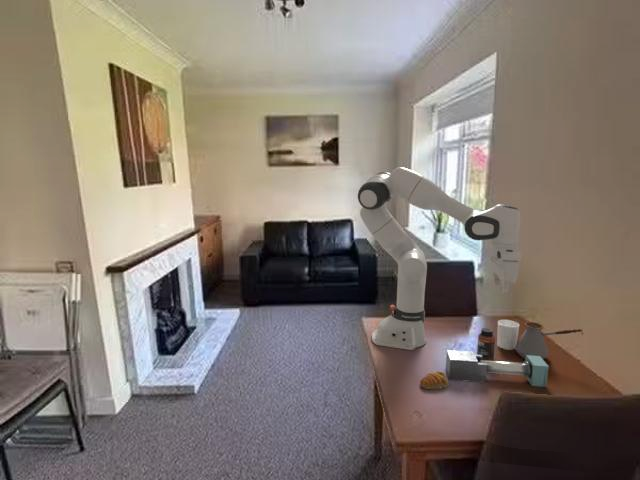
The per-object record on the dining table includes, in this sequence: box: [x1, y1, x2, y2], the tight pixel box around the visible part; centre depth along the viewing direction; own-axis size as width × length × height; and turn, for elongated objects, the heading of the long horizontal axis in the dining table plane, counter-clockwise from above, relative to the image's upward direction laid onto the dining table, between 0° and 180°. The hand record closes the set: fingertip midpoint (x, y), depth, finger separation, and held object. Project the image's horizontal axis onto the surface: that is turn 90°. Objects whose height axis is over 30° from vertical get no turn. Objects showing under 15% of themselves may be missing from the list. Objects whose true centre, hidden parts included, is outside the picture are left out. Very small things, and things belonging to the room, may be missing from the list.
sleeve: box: [445, 349, 488, 383], centre depth 138 cm, size 12×7×7 cm, turn 82°
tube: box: [479, 359, 532, 378], centre depth 136 cm, size 19×5×5 cm, turn 82°
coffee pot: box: [514, 321, 584, 360], centre depth 148 cm, size 21×12×15 cm, turn 53°
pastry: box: [419, 370, 449, 390], centre depth 132 cm, size 9×7×4 cm
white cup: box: [496, 319, 520, 351], centre depth 160 cm, size 8×8×10 cm
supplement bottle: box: [476, 327, 496, 361], centre depth 151 cm, size 6×6×11 cm
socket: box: [525, 355, 550, 388], centre depth 135 cm, size 4×7×7 cm, turn 172°
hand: (500, 288), depth 142 cm, fingers open, 8 cm apart
